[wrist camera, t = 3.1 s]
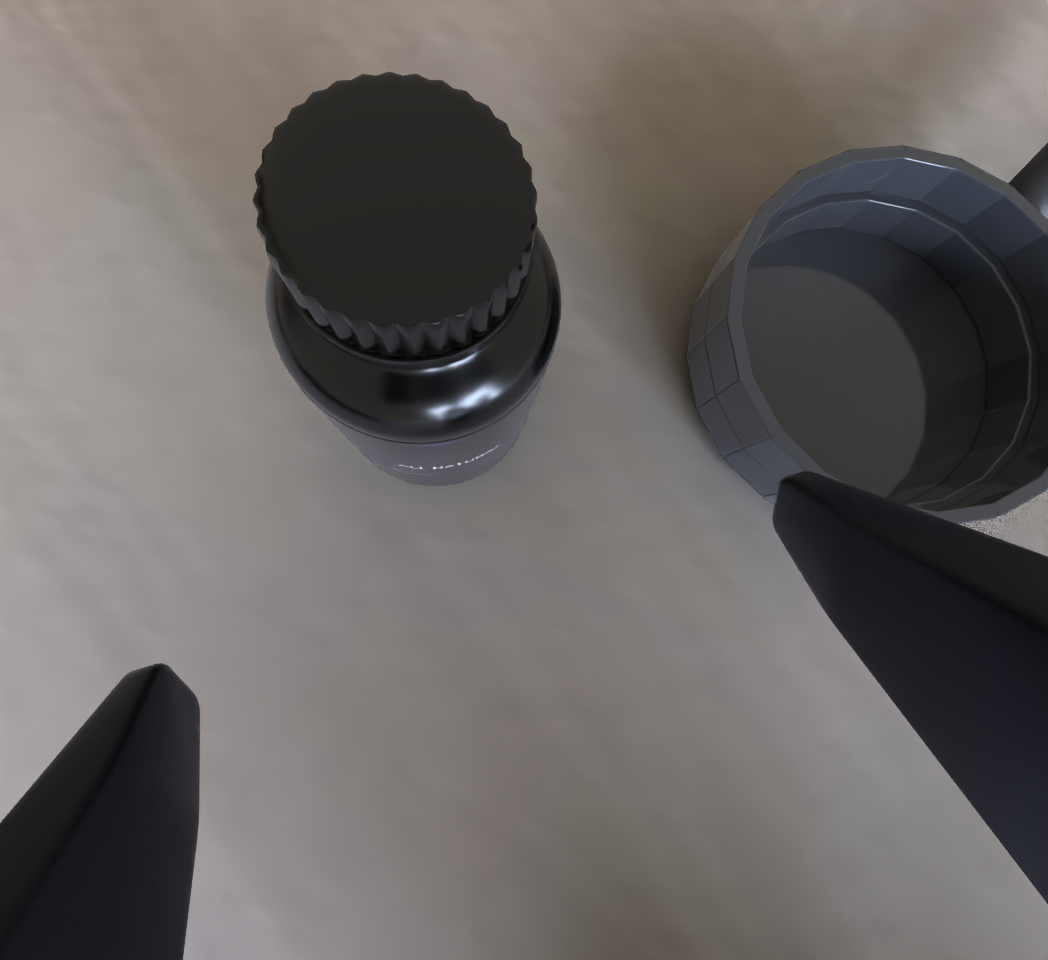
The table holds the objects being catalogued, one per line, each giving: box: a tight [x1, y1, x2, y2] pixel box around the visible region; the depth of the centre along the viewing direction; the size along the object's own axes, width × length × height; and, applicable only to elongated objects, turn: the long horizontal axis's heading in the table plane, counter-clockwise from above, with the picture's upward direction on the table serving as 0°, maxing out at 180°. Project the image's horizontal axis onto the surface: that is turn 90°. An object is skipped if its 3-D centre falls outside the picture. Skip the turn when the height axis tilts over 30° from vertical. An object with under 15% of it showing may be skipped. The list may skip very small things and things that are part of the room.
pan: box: [687, 145, 1048, 524], centre depth 21 cm, size 13×13×4 cm
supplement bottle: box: [253, 72, 561, 486], centre depth 15 cm, size 7×7×12 cm
